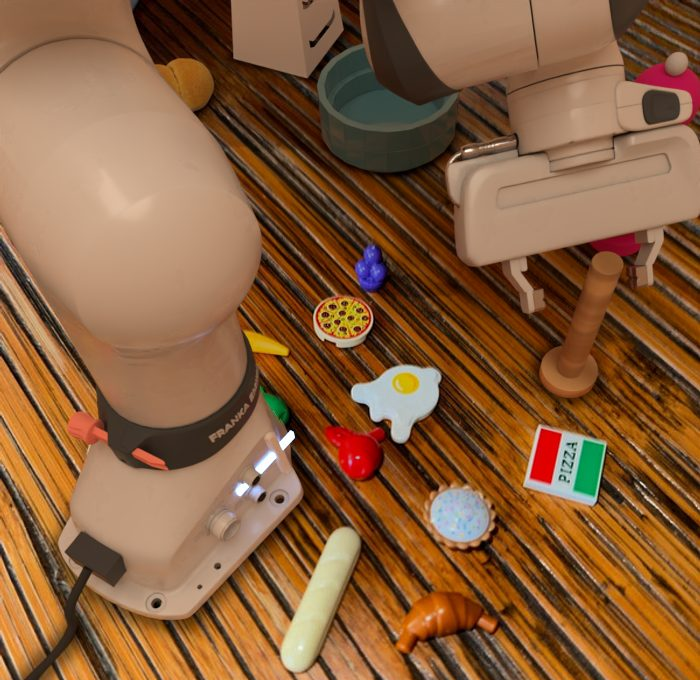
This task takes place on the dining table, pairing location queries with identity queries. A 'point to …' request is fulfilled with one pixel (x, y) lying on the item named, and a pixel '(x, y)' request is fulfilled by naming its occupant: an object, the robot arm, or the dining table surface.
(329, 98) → the bowl
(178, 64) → the bread roll
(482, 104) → the dining table surface
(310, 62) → the grater
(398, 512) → the dining table surface
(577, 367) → the stick
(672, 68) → the pepper mill
